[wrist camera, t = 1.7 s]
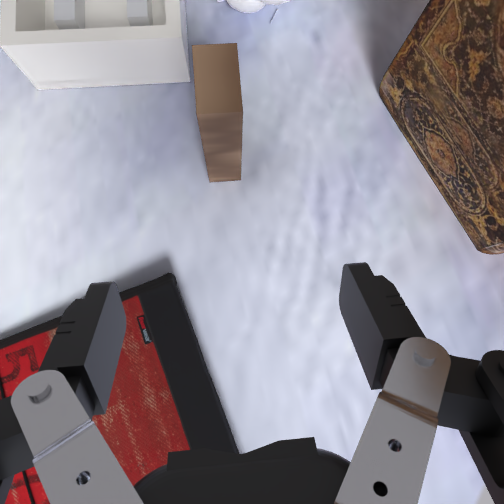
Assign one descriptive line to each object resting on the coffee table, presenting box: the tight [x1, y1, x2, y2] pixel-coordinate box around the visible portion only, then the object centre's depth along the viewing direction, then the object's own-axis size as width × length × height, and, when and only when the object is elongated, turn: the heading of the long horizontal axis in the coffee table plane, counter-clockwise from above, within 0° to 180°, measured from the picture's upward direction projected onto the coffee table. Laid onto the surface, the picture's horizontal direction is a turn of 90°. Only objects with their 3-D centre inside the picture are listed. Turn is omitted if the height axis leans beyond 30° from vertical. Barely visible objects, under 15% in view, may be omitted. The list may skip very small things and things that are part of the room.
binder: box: [0, 273, 239, 504], centre depth 26 cm, size 16×2×21 cm
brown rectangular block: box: [192, 43, 243, 182], centre depth 25 cm, size 2×4×10 cm, turn 5°
